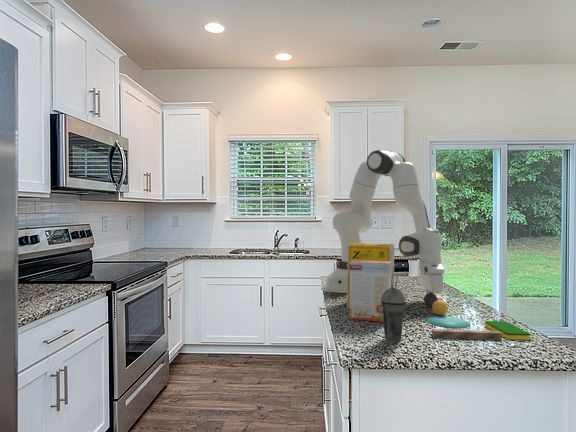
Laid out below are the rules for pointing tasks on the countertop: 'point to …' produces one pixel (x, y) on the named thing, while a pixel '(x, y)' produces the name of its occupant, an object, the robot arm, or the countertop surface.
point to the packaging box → (370, 258)
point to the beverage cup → (393, 313)
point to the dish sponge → (508, 330)
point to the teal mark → (448, 322)
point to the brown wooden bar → (466, 334)
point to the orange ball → (440, 307)
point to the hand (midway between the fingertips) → (429, 299)
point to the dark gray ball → (430, 299)
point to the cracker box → (368, 288)
